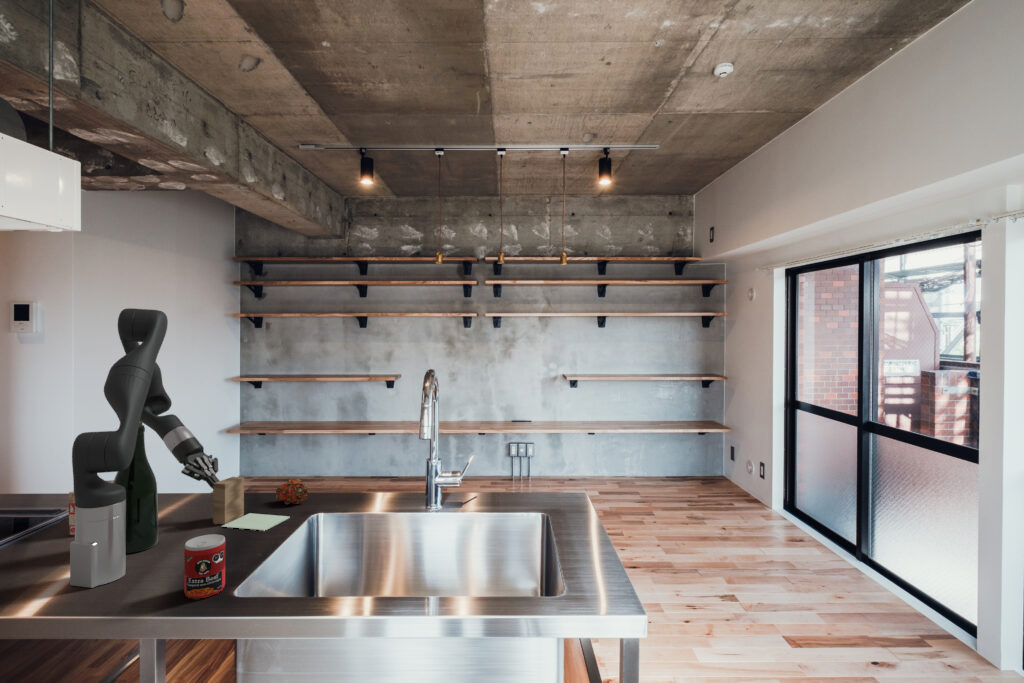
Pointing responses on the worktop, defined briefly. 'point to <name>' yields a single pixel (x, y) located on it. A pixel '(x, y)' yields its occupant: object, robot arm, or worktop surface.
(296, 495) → the dragon fruit
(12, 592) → the worktop surface
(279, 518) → the mat
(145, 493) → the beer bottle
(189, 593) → the canned food
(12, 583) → the worktop surface
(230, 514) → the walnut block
